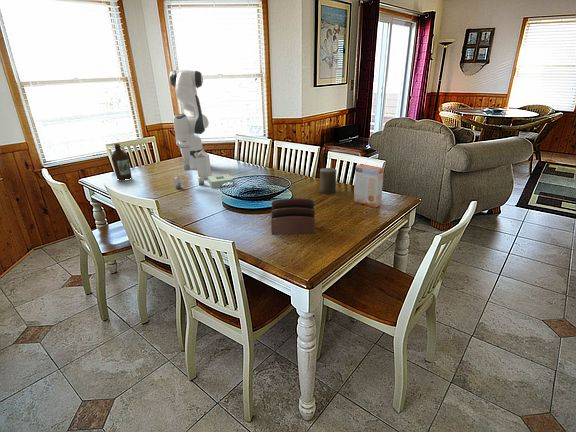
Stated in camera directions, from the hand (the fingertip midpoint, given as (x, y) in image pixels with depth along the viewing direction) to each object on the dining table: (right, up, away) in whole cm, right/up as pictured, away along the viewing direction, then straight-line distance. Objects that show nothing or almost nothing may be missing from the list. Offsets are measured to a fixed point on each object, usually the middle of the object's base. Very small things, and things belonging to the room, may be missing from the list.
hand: (186, 163), depth 216 cm
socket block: (+20, -12, +10) cm, 25 cm away
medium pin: (-6, -15, +3) cm, 17 cm away
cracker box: (+108, -27, -30) cm, 115 cm away
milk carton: (+6, -6, +25) cm, 26 cm away
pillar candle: (+89, -19, -10) cm, 91 cm away
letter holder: (+67, -40, -58) cm, 97 cm away
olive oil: (-51, -8, +24) cm, 56 cm away
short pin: (+8, -13, +8) cm, 17 cm away
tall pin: (0, -4, +2) cm, 4 cm away
